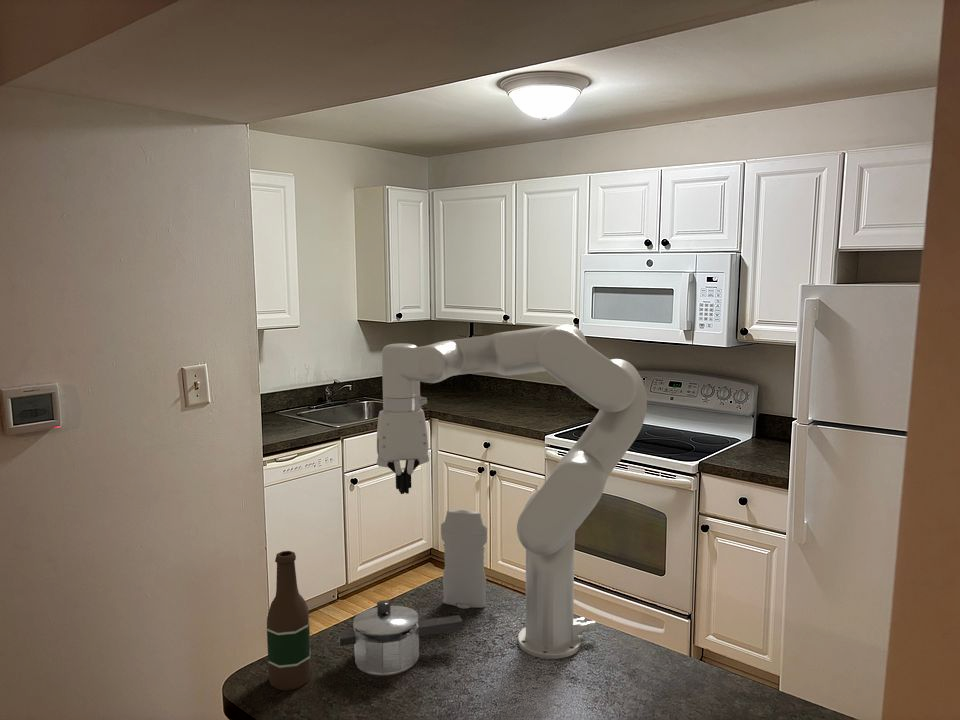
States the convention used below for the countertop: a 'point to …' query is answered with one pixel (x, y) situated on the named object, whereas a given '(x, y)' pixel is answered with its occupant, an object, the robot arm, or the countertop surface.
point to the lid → (385, 620)
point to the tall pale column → (464, 559)
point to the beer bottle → (288, 629)
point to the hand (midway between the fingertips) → (403, 491)
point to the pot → (395, 646)
